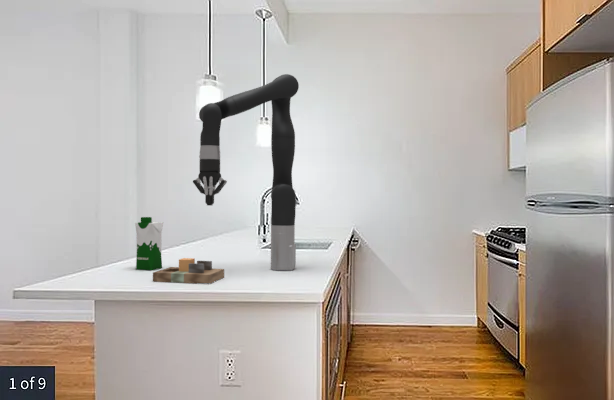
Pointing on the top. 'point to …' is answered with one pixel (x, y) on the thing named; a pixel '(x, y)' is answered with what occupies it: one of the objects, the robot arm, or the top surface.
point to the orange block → (185, 264)
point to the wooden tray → (190, 274)
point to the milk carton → (148, 244)
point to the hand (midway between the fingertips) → (209, 205)
